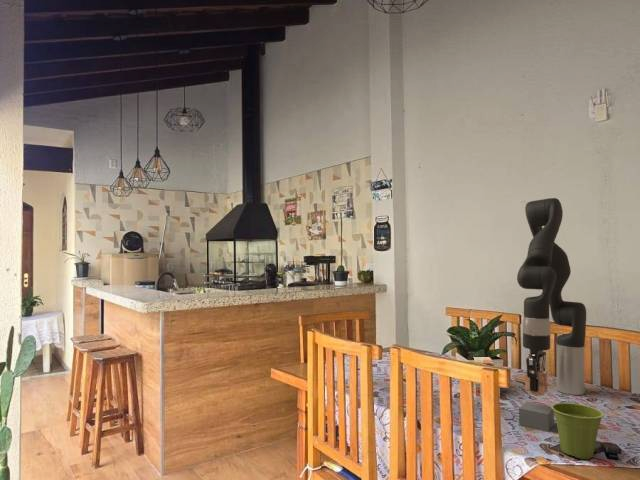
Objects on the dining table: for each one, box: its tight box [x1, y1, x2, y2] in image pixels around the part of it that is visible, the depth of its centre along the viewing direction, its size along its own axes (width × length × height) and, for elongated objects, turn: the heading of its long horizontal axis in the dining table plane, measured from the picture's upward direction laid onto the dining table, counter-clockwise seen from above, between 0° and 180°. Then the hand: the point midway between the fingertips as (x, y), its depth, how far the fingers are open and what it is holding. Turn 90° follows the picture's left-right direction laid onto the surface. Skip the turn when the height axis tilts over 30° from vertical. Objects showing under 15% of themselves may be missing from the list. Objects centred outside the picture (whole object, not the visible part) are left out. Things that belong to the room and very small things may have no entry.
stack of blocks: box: [473, 356, 495, 397], centre depth 176 cm, size 21×6×12 cm, turn 170°
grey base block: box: [518, 401, 555, 432], centre depth 139 cm, size 8×8×5 cm
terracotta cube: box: [524, 371, 548, 395], centre depth 139 cm, size 5×5×5 cm
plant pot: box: [550, 402, 604, 460], centre depth 119 cm, size 12×12×11 cm
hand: (536, 388), depth 139 cm, fingers closed on terracotta cube, 5 cm apart
